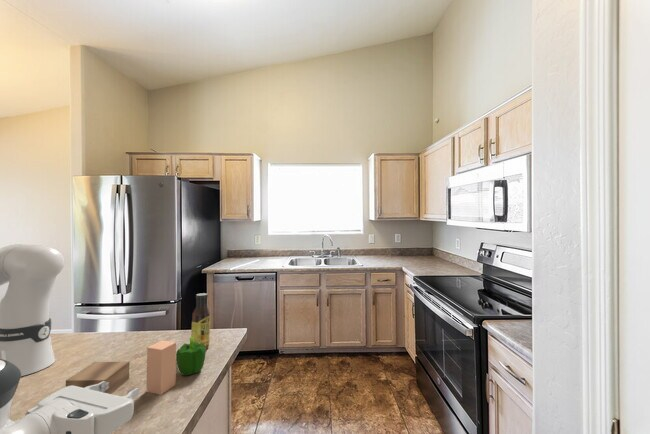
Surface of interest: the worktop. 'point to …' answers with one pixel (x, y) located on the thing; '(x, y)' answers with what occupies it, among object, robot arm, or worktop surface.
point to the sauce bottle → (201, 321)
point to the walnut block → (101, 375)
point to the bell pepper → (190, 357)
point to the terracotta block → (161, 366)
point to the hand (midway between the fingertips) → (121, 387)
